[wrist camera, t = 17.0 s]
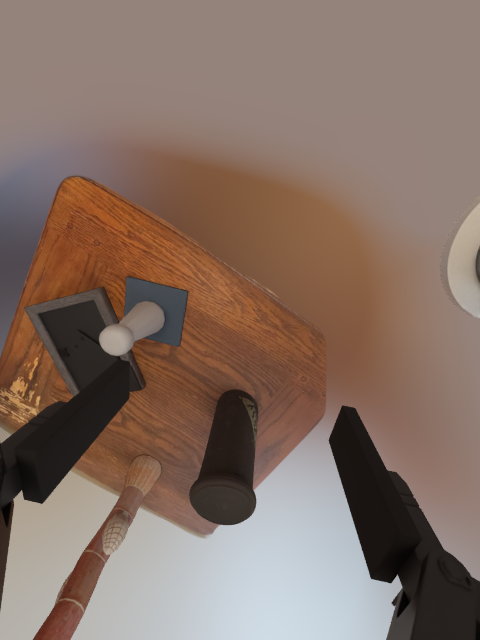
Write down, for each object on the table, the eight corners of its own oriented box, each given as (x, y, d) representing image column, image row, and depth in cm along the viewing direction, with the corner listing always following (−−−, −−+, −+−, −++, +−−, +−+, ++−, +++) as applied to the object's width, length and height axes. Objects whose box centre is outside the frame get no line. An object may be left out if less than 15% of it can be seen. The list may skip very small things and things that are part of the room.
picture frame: (145, 384, 51) (103, 286, 44) (141, 390, 49) (96, 289, 42) (80, 395, 53) (31, 305, 47) (73, 401, 51) (21, 308, 45)
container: (249, 429, 52) (240, 540, 33) (210, 413, 51) (178, 517, 33) (266, 399, 49) (266, 502, 30) (224, 382, 48) (199, 476, 30)
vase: (153, 450, 57) (43, 665, 29) (169, 472, 59) (81, 693, 31) (118, 462, 59) (-15, 670, 31) (134, 482, 61) (23, 696, 33)
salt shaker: (152, 291, 43) (107, 314, 31) (175, 314, 44) (141, 346, 32) (132, 312, 45) (82, 341, 32) (155, 334, 46) (115, 370, 34)
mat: (188, 291, 43) (187, 291, 42) (179, 345, 47) (178, 347, 46) (128, 276, 43) (126, 276, 42) (124, 331, 47) (122, 332, 46)
